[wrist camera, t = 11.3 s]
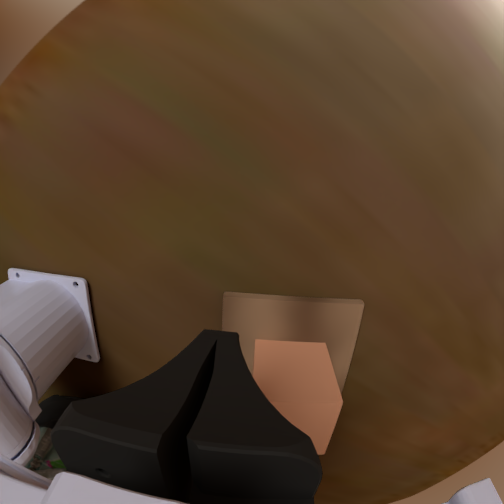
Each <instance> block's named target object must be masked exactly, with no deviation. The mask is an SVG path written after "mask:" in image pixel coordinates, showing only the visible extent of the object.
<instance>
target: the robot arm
mask: <svg viewBox="0 0 504 504" xmlns="http://www.w3.org/2000/svg"><path fill="white" fill-rule="evenodd" d="M8 277H9V280H8V281H6V282H4V283H2V284H1V285H0V504H314V495H315V493H316V491H317V488H318V486H319V484H320V482H321V479H322V474H323V473H322V467H321V463H320V460H319V457H318V454H317V451H316V449H315V446H314V444H313V442H312V440H311V438H310V437H309V436H308V435H307V434H305V433H304V432H302V431H301V430H300V429H298V428H297V427H295V426H294V425H293V424H291V423H290V422H289V421H288V420H287V419H286V418H285V417H284V416H283V415H282V414H281V413H280V412H279V411H278V410H277V409H276V408H275V407H274V406H273V405H272V404H271V403H270V401H269V400H268V399H267V398H266V396H265V395H264V394H263V392H262V391H261V389H260V388H259V386H258V385H257V383H256V382H255V380H254V378H253V376H252V374H251V372H250V370H249V368H248V366H247V364H246V361H245V359H244V356H243V353H242V350H241V347H240V342H239V334H238V333H237V332H228V331H217V330H206V329H205V330H203V331H202V332H201V333H200V334H199V335H198V336H197V337H196V338H195V339H194V340H193V341H192V342H191V343H190V344H189V345H188V346H187V347H186V348H185V349H184V350H183V351H181V352H180V353H179V354H178V355H177V356H176V357H174V358H173V359H172V360H171V361H169V362H168V363H167V364H165V365H164V366H163V367H161V368H160V369H158V370H157V371H155V372H154V373H152V374H150V375H149V376H147V377H145V378H143V379H141V380H139V381H137V382H135V383H133V384H131V385H128V386H126V387H124V388H121V389H119V390H116V391H113V392H110V393H107V394H104V395H100V396H96V397H92V398H87V399H83V400H78V401H72V402H71V404H70V405H69V406H68V407H67V408H66V410H65V411H64V413H63V414H62V416H61V417H60V419H59V420H58V422H57V423H56V425H55V426H54V428H53V429H52V431H51V432H50V437H51V441H52V444H53V446H54V448H55V450H56V452H57V454H58V455H59V457H60V459H61V461H62V462H63V464H64V466H65V467H66V469H67V470H68V471H67V472H61V473H59V474H56V476H55V477H54V479H53V481H52V480H50V479H48V478H46V477H43V476H41V475H39V474H37V473H35V472H33V471H31V470H29V469H27V468H25V467H24V466H25V465H26V464H27V463H28V462H29V461H30V460H31V458H32V457H33V455H34V454H35V452H36V449H37V447H38V442H39V439H40V428H39V425H38V424H37V422H36V421H35V419H36V418H37V417H38V415H39V414H40V413H41V411H42V410H41V408H40V407H39V405H38V403H37V402H38V401H39V399H40V398H41V397H42V396H43V394H44V393H45V392H46V391H47V389H48V388H49V387H50V386H51V385H52V383H53V382H54V381H55V380H56V378H57V377H58V376H59V375H60V374H61V372H62V371H63V370H64V369H65V368H66V367H67V365H68V364H69V363H70V362H71V361H72V359H73V358H74V357H75V358H79V359H83V360H87V361H92V362H98V361H99V360H100V354H99V350H98V345H97V340H96V335H95V329H94V324H93V318H92V312H91V305H90V298H89V291H88V284H87V282H86V280H85V279H83V278H78V277H71V276H64V275H56V274H49V273H43V272H36V271H29V270H23V269H16V268H10V269H9V270H8ZM75 282H77V283H78V286H77V285H76V283H75ZM89 355H90V356H91V357H90V356H89ZM442 504H503V503H502V501H501V499H500V498H499V495H498V493H497V491H496V489H495V487H494V486H493V484H492V482H491V480H490V478H486V479H483V480H481V481H478V482H476V483H473V484H471V485H468V486H465V487H463V488H462V489H460V490H458V491H457V492H456V493H455V494H454V495H453V496H452V497H451V498H450V500H449V502H446V503H442Z"/></svg>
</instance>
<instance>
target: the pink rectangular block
mask: <svg viewBox="0 0 504 504" xmlns="http://www.w3.org/2000/svg"><path fill="white" fill-rule="evenodd" d="M252 376H253V378H254V380H255V382H256V383H257V385H258V386H259V388H260V389H261V391H262V392H263V394H264V395H265V396H266V398H267V399H268V400H269V401H270V403H271V404H272V405H273V406H274V407H275V408H276V409H277V410H278V411H279V412H280V413H281V414H282V415H283V416H284V417H285V418H286V419H287V420H288V421H289V422H290V423H291V424H293V425H294V426H295V427H297V428H298V429H300V430H301V431H302V432H304V433H305V434H307V435H308V436H309V437H310V438H311V440H312V442H313V444H314V446H315V449H316V451H317V454H318V455H324V454H325V451H326V449H327V446H328V444H329V441H330V438H331V436H332V433H333V430H334V427H335V425H336V422H337V419H338V416H339V413H340V410H341V407H342V404H343V400H342V397H341V393H340V390H339V386H338V383H337V379H336V376H335V373H334V369H333V366H332V363H331V359H330V356H329V353H328V349H327V346H326V343H317V342H293V341H275V340H260V339H255V349H254V360H253V371H252Z"/></svg>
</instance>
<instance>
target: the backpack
mask: <svg viewBox="0 0 504 504" xmlns="http://www.w3.org/2000/svg"><path fill="white" fill-rule="evenodd" d="M78 400H83V399H82V398H78V397H69V396H59V395H53V396H51V397H49V398H47V399H45V400H44V401H42V402H41V403H40V404H39V407H40V408H41V410H42V411H41V413H40V414H39V415H38V417H37V418H36V419H35V421H36V422H37V424H38V425H39V428H40V439H39V442H38V447H37V449H36V452H35V454H34V455H33V457H32V458H31V460H30V461H29V462H28V463H27V464H26V465H25V466H24V467H25V468H27V469H29V470H31V471H33V472H35V473H37V474H39V475H41V476H43V477H46V478H48V479H50V480H52V481H53V479H54V477H55V476H56V474H59V473H61V472H67V471H68V470H67V469H66V467H65V466H64V464H63V462H62V461H61V459H60V457H59V455H58V454H57V452H56V450H55V448H54V446H53V444H52V441H51V437H50V432H51V431H52V429H53V428H54V426H55V425H56V423H57V422H58V420H59V419H60V417H61V416H62V414H63V413H64V411H65V410H66V408H67V407H68V406H69V405H70V404H71V402H72V401H78Z"/></svg>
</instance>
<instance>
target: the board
mask: <svg viewBox="0 0 504 504" xmlns="http://www.w3.org/2000/svg"><path fill="white" fill-rule="evenodd" d="M363 309H364V303H363V301H362V300H359V299H335V298H315V297H297V296H280V295H265V294H251V293H238V292H225V291H224V295H223V317H222V331H228V332H237V333H238V334H239V342H240V347H241V350H242V353H243V356H244V359H245V361H246V364H247V366H248V368H249V370H250V372H251V374H252V371H253V360H254V349H255V339H260V340H275V341H293V342H317V343H326V346H327V349H328V353H329V356H330V359H331V363H332V366H333V369H334V373H335V376H336V379H337V383H338V386H339V390H340V393H341V394H342V390H343V387H344V384H345V380H346V377H347V373H348V370H349V366H350V362H351V359H352V355H353V351H354V347H355V343H356V339H357V335H358V331H359V327H360V322H361V318H362V313H363Z"/></svg>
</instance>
